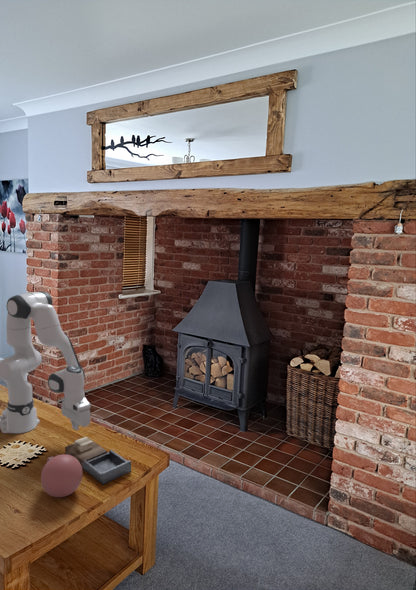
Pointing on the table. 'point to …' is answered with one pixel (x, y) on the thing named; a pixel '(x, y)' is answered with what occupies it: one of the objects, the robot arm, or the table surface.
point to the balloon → (61, 475)
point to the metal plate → (85, 452)
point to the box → (107, 467)
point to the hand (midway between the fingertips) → (75, 429)
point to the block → (83, 444)
